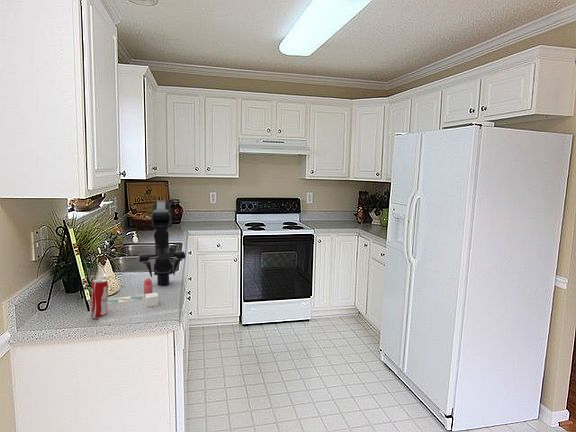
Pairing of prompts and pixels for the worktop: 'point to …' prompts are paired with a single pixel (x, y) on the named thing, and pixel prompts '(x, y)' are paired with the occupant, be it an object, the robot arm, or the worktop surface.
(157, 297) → the die
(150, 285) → the red cylinder
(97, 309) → the beverage can
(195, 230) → the worktop surface
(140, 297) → the board
